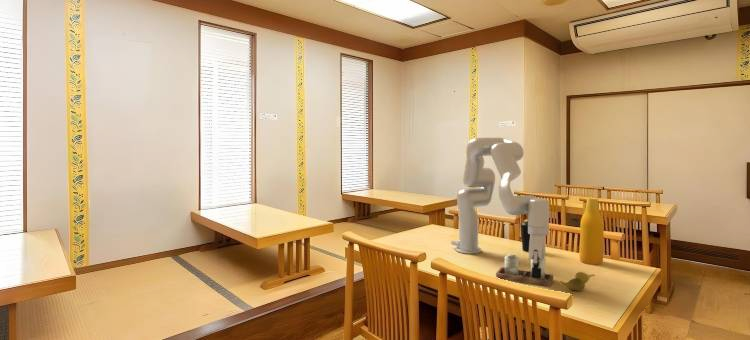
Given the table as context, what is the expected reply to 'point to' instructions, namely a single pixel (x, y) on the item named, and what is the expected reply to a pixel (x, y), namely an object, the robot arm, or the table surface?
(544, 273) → the celadon canister
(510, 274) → the walnut tray
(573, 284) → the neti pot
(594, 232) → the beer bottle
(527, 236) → the drinking cup
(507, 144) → the robot arm
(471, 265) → the table surface
